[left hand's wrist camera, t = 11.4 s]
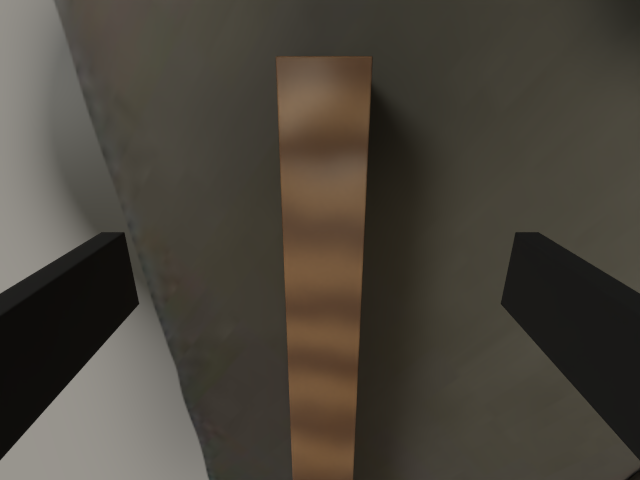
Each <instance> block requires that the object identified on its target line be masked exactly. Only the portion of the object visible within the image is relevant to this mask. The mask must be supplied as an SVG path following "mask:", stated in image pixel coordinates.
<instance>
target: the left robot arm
mask: <svg viewBox="0 0 640 480" xmlns="http://www.w3.org/2000/svg"><path fill="white" fill-rule="evenodd" d="M138 305H139V301H138V296H137V291H136V286H135V281H134V277H133V272H132V267H131V262H130V257H129V252H128V248H127V243H126V238H125V233H124V232H101V233H100V234H98V235H96V236H95V237H93V238H91V239H90V240H88V241H87V242H85V243H83V244H82V245H80V246H78V247H77V248H75V249H73V250H72V251H70V252H68V253H67V254H65V255H63V256H62V257H60V258H58V259H57V260H55V261H53V262H52V263H50V264H48V265H47V266H45V267H44V268H42V269H40V270H39V271H37V272H35V273H34V274H32V275H30V276H29V277H27V278H25V279H24V280H22V281H20V282H19V283H17V284H16V285H14V286H12V287H10V288H9V289H7V290H6V291H4V292H2V293H1V294H0V460H1V459H2V458H3V457H4V455H5V454H6V453H7V452H8V451H9V450H10V449H11V448H12V446H13V445H14V444H15V443H16V442H17V441H18V440H19V439H20V437H21V436H22V435H23V434H24V433H25V432H26V431H27V429H28V428H29V427H30V426H31V425H32V424H33V423H34V422H35V421H36V419H37V418H38V417H39V416H40V415H41V414H42V413H43V412H44V410H45V409H46V408H47V407H48V406H49V405H50V404H51V403H52V401H53V400H54V399H55V398H56V397H57V396H58V395H59V394H60V392H61V391H62V390H63V389H64V388H65V387H66V386H67V385H68V383H69V382H70V381H71V380H72V379H73V378H74V377H75V376H76V374H77V373H78V372H79V371H80V370H81V369H82V368H83V366H84V365H85V364H86V363H87V362H88V361H89V360H90V359H91V357H92V356H93V355H94V354H95V353H96V352H97V351H98V350H99V348H100V347H101V346H102V345H103V344H104V343H105V342H106V341H107V339H108V338H109V337H110V336H111V335H112V334H113V333H114V332H115V330H116V329H117V328H118V327H119V326H120V325H121V324H122V323H123V321H124V320H125V319H126V318H127V317H128V316H129V315H130V314H131V312H132V311H133V310H134V309H135V308H136V307H137V306H138ZM501 305H502V306H503V307H504V308H505V309H506V310H507V311H508V312H509V314H510V315H511V316H512V317H513V318H514V319H515V320H516V321H517V323H518V324H519V325H520V326H521V327H522V328H523V329H524V330H525V332H526V333H527V334H528V335H529V336H530V337H531V338H532V339H533V341H534V342H535V343H536V344H537V345H538V346H539V347H540V348H541V350H542V351H543V352H544V353H545V354H546V355H547V356H548V357H549V359H550V360H551V361H552V362H553V363H554V364H555V365H556V367H557V368H558V369H559V370H560V371H561V372H562V373H563V374H564V376H565V377H566V378H567V379H568V380H569V381H570V382H571V383H572V385H573V386H574V387H575V388H576V389H577V390H578V391H579V392H580V394H581V395H582V396H583V397H584V398H585V399H586V400H587V401H588V403H589V404H590V405H591V406H592V407H593V408H594V409H595V410H596V412H597V413H598V414H599V415H600V416H601V417H602V418H603V419H604V421H605V422H606V423H607V424H608V425H609V426H610V427H611V428H612V430H613V431H614V432H615V433H616V434H617V435H618V436H619V437H620V439H621V440H622V441H623V442H624V443H625V444H626V445H627V446H628V448H629V449H630V450H631V451H632V452H633V453H634V454H635V455H636V457H637V458H638V459H639V460H640V294H639V293H638V292H636V291H635V290H633V289H631V288H630V287H628V286H626V285H625V284H623V283H621V282H620V281H618V280H616V279H615V278H613V277H611V276H610V275H608V274H606V273H605V272H603V271H601V270H600V269H598V268H597V267H595V266H593V265H592V264H590V263H588V262H587V261H585V260H583V259H582V258H580V257H578V256H577V255H575V254H573V253H572V252H570V251H568V250H567V249H565V248H563V247H562V246H560V245H558V244H557V243H555V242H554V241H552V240H550V239H549V238H547V237H545V236H544V235H542V234H540V233H539V232H516V233H515V238H514V243H513V248H512V252H511V257H510V262H509V267H508V272H507V277H506V281H505V286H504V291H503V296H502V301H501Z"/></svg>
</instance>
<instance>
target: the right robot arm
mask: <svg viewBox="0 0 640 480" xmlns="http://www.w3.org/2000/svg"><path fill="white" fill-rule="evenodd" d="M629 480H640V472H638V473H637V474H635V475H634V476H633V477H631V478H630V479H629Z"/></svg>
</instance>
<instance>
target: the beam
mask: <svg viewBox="0 0 640 480" xmlns="http://www.w3.org/2000/svg"><path fill="white" fill-rule="evenodd" d="M372 59H373V57H372V56H277V57H276V75H277V100H278V125H279V150H280V175H281V199H282V224H283V249H284V274H285V299H286V324H287V348H288V373H289V398H290V423H291V448H292V473H293V480H353V470H354V448H355V426H356V405H357V383H358V362H359V340H360V318H361V297H362V275H363V254H364V232H365V210H366V189H367V167H368V146H369V124H370V102H371V81H372Z"/></svg>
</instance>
